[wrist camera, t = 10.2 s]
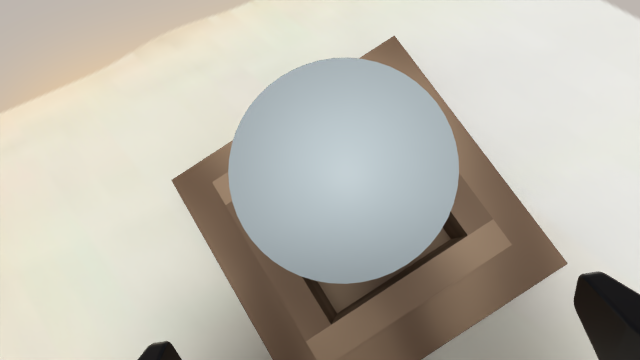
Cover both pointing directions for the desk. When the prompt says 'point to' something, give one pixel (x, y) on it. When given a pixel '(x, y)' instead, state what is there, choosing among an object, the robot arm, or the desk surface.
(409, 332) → the cradle jig
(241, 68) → the desk surface
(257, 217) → the peg
